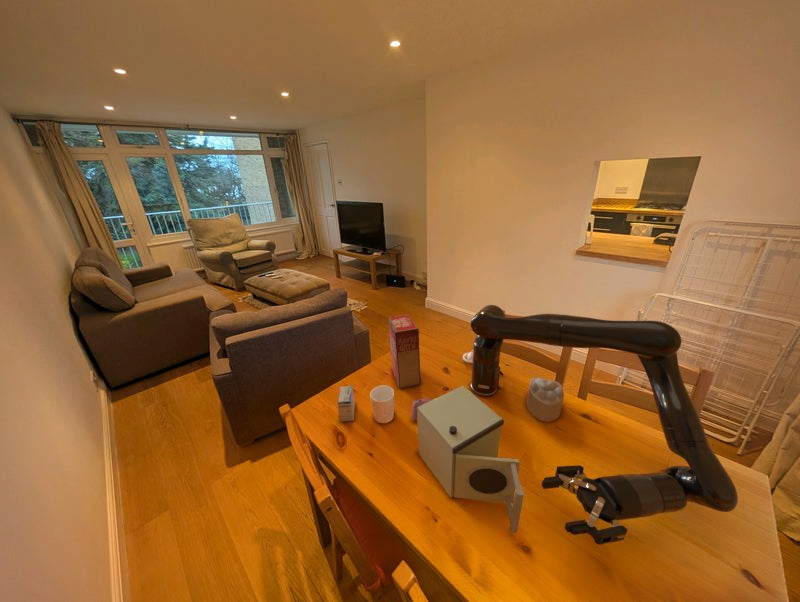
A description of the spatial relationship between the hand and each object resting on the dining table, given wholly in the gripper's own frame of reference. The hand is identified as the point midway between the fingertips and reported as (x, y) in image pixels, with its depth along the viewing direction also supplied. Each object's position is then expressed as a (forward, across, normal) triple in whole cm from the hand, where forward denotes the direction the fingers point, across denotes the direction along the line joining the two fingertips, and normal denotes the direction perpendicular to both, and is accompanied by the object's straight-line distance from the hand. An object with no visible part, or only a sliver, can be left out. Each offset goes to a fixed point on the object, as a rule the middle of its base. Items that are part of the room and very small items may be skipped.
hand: (553, 504), depth 61 cm
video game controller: (+20, +38, -12) cm, 45 cm away
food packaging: (+25, +60, -12) cm, 66 cm away
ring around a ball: (-4, +66, -12) cm, 67 cm away
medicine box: (+47, +43, -12) cm, 65 cm away
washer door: (+12, +5, -10) cm, 17 cm away
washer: (+15, +21, -12) cm, 28 cm away
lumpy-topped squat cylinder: (-20, +37, -12) cm, 43 cm away
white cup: (+35, +40, -12) cm, 54 cm away
